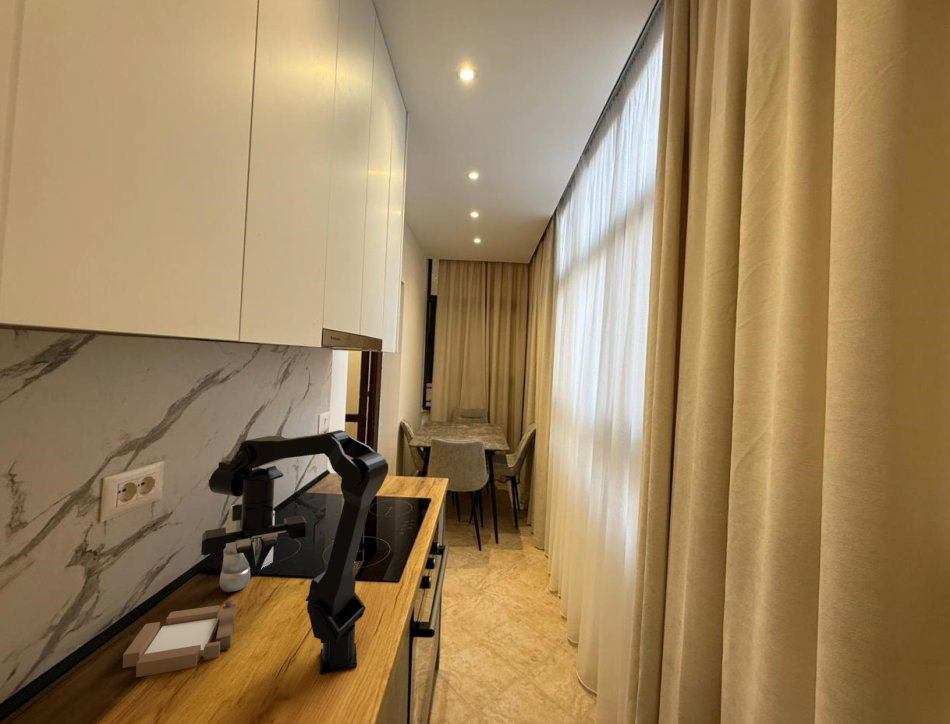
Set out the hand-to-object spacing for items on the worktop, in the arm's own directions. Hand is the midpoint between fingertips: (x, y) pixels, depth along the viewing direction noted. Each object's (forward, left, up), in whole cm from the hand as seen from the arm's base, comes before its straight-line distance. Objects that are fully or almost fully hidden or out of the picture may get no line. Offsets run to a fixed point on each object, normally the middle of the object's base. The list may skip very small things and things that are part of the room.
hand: (255, 575), depth 83 cm
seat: (+1, +13, -12) cm, 17 cm away
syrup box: (+31, +5, -12) cm, 33 cm away
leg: (+2, +5, -12) cm, 13 cm away
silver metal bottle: (+20, +8, -12) cm, 24 cm away
